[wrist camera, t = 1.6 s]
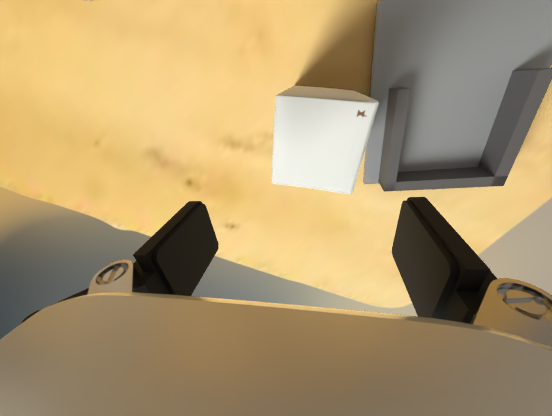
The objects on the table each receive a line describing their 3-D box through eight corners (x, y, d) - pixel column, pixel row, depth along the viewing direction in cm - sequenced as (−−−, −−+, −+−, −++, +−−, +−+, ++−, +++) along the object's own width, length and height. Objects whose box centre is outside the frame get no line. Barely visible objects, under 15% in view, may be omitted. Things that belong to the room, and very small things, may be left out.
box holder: (376, 3, 20) (387, -11, 17) (589, -45, 17) (652, -73, 14) (363, 181, 30) (368, 194, 27) (497, 174, 27) (521, 187, 23)
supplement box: (292, 84, 25) (274, 89, 15) (355, 89, 24) (384, 99, 14) (286, 145, 29) (269, 184, 19) (340, 152, 28) (354, 196, 18)
